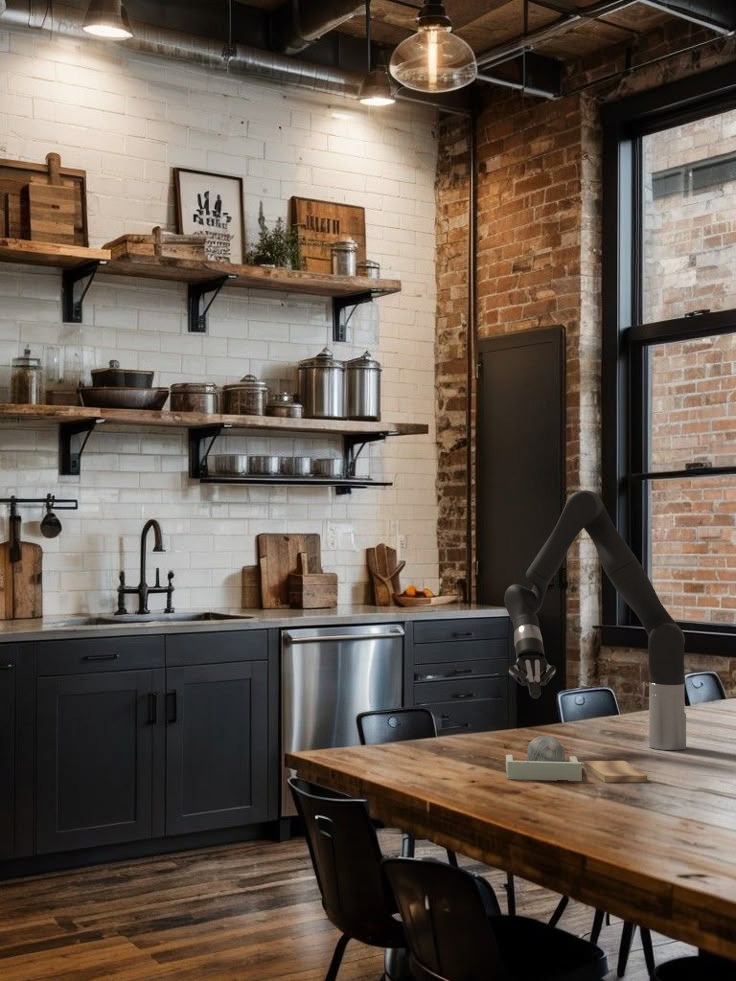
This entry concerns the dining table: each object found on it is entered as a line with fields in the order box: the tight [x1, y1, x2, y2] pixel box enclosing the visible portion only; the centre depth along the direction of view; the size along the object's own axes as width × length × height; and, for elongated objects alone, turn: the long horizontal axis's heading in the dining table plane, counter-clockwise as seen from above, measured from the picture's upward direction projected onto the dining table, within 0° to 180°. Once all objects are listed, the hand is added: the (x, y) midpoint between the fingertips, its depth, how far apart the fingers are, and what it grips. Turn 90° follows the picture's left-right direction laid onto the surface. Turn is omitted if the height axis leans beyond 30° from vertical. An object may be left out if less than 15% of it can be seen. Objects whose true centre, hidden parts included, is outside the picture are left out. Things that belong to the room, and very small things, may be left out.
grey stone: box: [526, 735, 566, 762], centre depth 289 cm, size 14×10×10 cm
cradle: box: [505, 754, 583, 782], centre depth 288 cm, size 17×18×4 cm
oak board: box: [583, 760, 648, 783], centre depth 286 cm, size 10×18×2 cm, turn 5°
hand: (535, 696), depth 314 cm, fingers closed
